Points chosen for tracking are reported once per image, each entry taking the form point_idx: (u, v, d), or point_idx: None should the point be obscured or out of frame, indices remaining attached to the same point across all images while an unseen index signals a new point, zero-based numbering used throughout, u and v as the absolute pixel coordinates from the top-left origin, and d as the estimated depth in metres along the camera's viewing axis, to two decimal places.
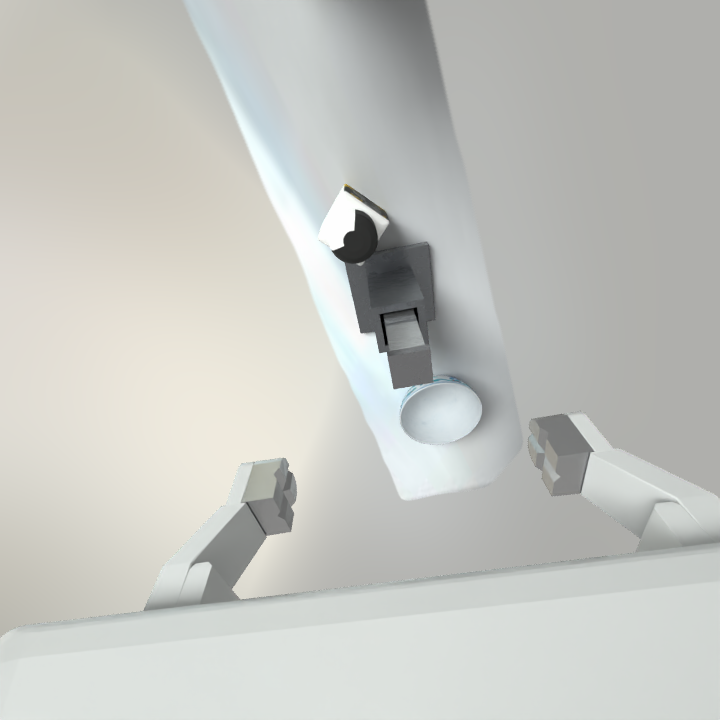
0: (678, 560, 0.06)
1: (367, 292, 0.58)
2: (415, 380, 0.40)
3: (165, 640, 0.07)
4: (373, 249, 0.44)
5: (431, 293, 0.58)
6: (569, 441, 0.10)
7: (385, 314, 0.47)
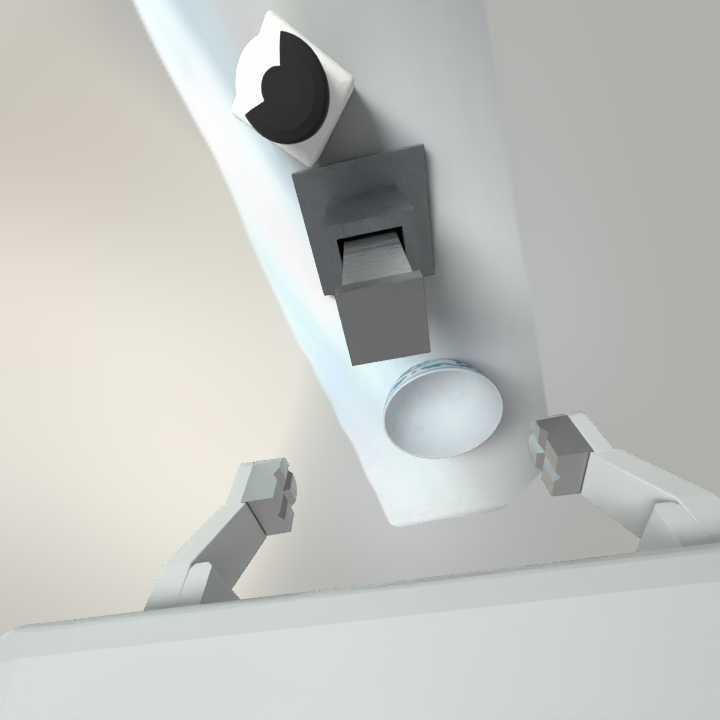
0: (678, 560, 0.06)
1: None
2: (393, 348, 0.20)
3: (165, 640, 0.07)
4: (320, 112, 0.24)
5: (428, 230, 0.38)
6: (569, 441, 0.10)
7: (347, 242, 0.27)
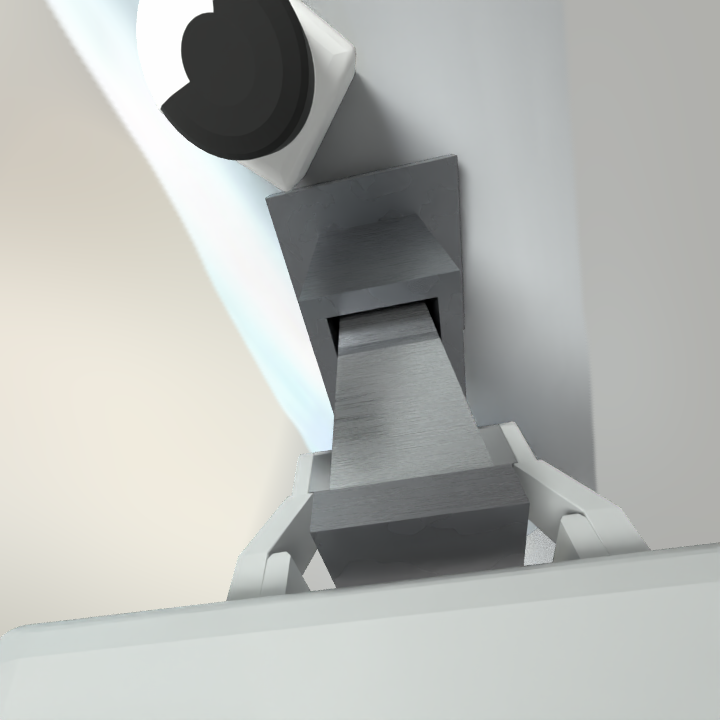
0: (678, 560, 0.06)
1: None
2: None
3: (165, 640, 0.07)
4: (295, 103, 0.13)
5: None
6: (496, 451, 0.10)
7: (345, 318, 0.17)
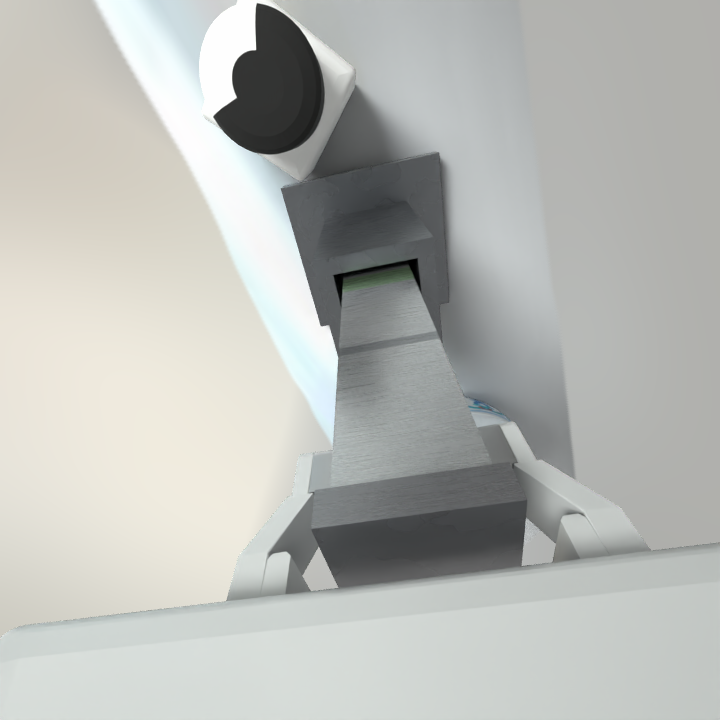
0: (678, 560, 0.06)
1: None
2: None
3: (165, 640, 0.07)
4: (311, 112, 0.18)
5: (443, 253, 0.32)
6: (496, 452, 0.10)
7: (346, 319, 0.17)
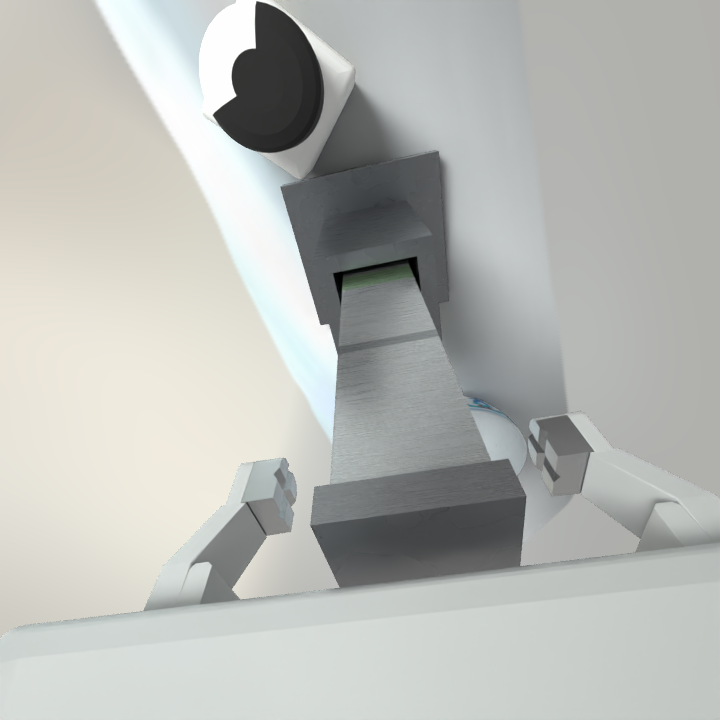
0: (678, 560, 0.06)
1: None
2: None
3: (165, 640, 0.07)
4: (311, 111, 0.18)
5: (443, 251, 0.32)
6: (569, 440, 0.10)
7: (346, 317, 0.17)
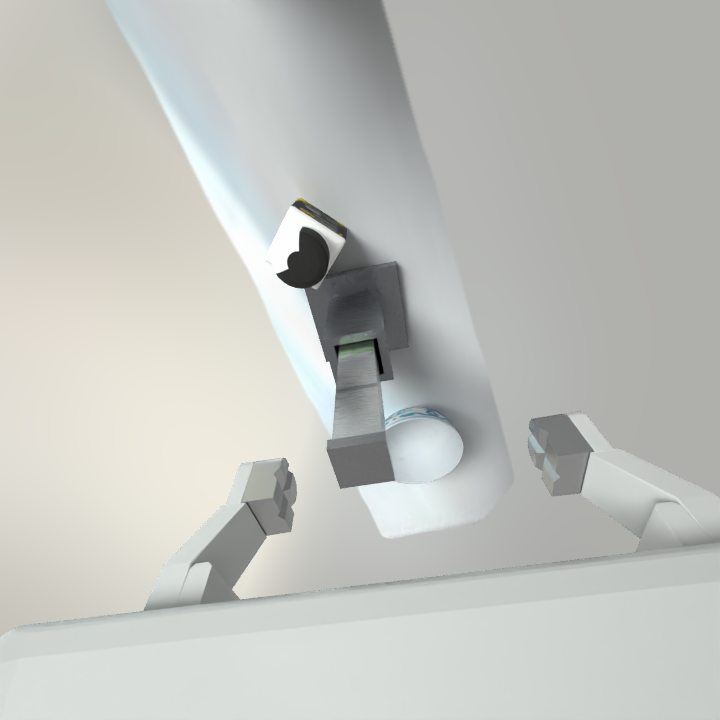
0: (678, 560, 0.06)
1: None
2: (369, 478, 0.29)
3: (165, 640, 0.07)
4: (323, 272, 0.38)
5: (402, 318, 0.52)
6: (569, 441, 0.10)
7: (339, 373, 0.36)
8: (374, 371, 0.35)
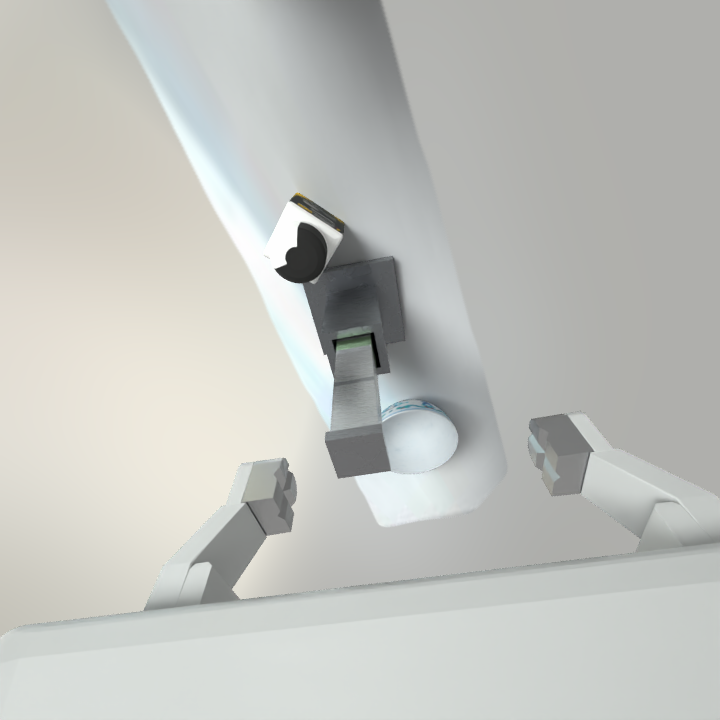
0: (678, 560, 0.06)
1: None
2: (365, 468, 0.30)
3: (165, 640, 0.07)
4: (321, 267, 0.39)
5: (399, 312, 0.53)
6: (569, 441, 0.10)
7: (337, 367, 0.37)
8: (371, 365, 0.36)
